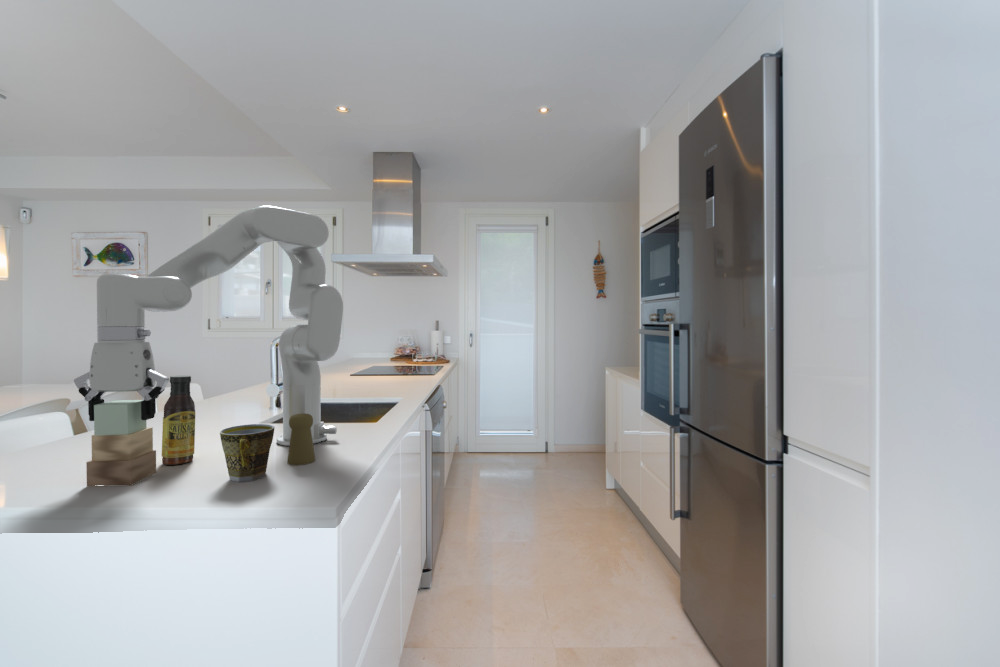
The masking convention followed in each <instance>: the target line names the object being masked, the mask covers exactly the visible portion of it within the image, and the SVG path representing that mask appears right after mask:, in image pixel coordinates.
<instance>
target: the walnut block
mask: <svg viewBox="0 0 1000 667" xmlns="http://www.w3.org/2000/svg"><path fill="white" fill-rule="evenodd" d="M154 473H155V474H156V473H157V450H155V449H153V451H151V452H149V453H146V454H144V455H141V456H139V457H136V458H134V459H131V460H116V461H92V459H91V460H89V461H86V487H87V486H95V485H127V486H132V484H133V485H135V484H137V483H139V482H141V481H142V479H143V480H145V479H146V477H147V478H149V477H150V475H151V476H153V475H154ZM152 474H153V475H152ZM148 476H149V477H148ZM144 478H145V479H144ZM140 480H141V481H140ZM138 481H139V482H138ZM136 482H137V483H136ZM134 483H135V484H134ZM95 487H96V486H95Z"/></svg>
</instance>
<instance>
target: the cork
mask: <svg viewBox="0 0 1000 667" xmlns="http://www.w3.org/2000/svg"><path fill="white" fill-rule="evenodd" d="M312 425H313V417H312V416H311V415H310V414H305V413H301V414H295V415H293V416H291V417H290V419H289V426H290V428H291V429H292V431H291V438H290V446H289V448H288V456H287V462H286V463H287V465H291V466H301V465H302V466H303V465H308V463H309V464H312V463H313V462H314V463H315V461H316V456H315V450H314V444H313V441H312V434H311V426H312Z"/></svg>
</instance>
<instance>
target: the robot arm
mask: <svg viewBox="0 0 1000 667" xmlns="http://www.w3.org/2000/svg"><path fill="white" fill-rule="evenodd" d="M329 232H330V231H329V227H328V226H327V223H326V222H325V221H324V220H323V219H322V218H320V217H319V216H318V215H317V214H313V213H308V212H304V211H303V212H302V211H298V210H294V209H290V208H289V209H288V208H284V207H278V206H273V205H261V206H256V207H253V208H249V209H246V210H243V211H241V212H239V213H237V214H236V215H235V216H233V217H232V218H230V219H229V220H227V221H226V222H225V223H224V224H223V225H221V226H220V227H218V228H217V229H215V230H214V231H212V232H211V233H210V234H208V235H207V236H205V237H204V238H202V239H201V240H200V241H198V242H197V243H195V244H193V245H191V246H190V247H188V248H187V249H186V250H184V251H182V252H181V253H180V254H178V255H177V256H175V257H173V258H171V259H170V260H168V261H167V262H165V263H164V264H162V265H160V266H159V267H157V269H155V270H153V271H152V272H151V273H149V274H148V275H147V276H138V275H133V274H125V273H106V274H105V273H104V274H101V275H100V276H99V275H98V277H97V279H96V325H97V326H96V328H97V330H96V331H97V333H96V335H97V336H96V338H97V340H96V341H97V342H94V344H93V347H92V349H91V350H92V351H91V356H90V363H89V371H88V372H87V373H84V374H82V375H80V376H77V377H76V378H74V379H73V383H74V384H75V386H76V388H77V389H78V393H79V394H80V395H81V396H82V397H83V398H84V400H85V402H88V404H87V405H88V411H87V412H88V420H89V421H90V422H94V405H97V404H101V403H105V399H104V398H102V397H103V396H104V395H105V394H106V393H107V392H108V393H110V392H111V393H112V392H119V393H121V392H123V393H124V392H137V393H138V394H139V395H140V397H142V398H143V399H142V400H143V401H141V419H142V420H146V421H148V420H152V419H154V418H155V414H156V404H157V403H156V400H157V399H158V398H159V396H160V395H162V393H163V392H164V391H165V390H166V389H165V388H166V387H167V385H168V383H169V382H170V377H168V376H166V375H163V374H162V373H159V372H158V371H156V370H155V361H154V360H155V359H154V354H153V350H152V347H151V343H150V342H149V341H146V337H150V336H151V333H152V332H151V330H150V329H146V326H145V324H146V323H145V317H146V316H145V311H148V312H151V313H152V312H153V313H155V312H156V313H157V312H163V313H164V312H176V311H179V310H182V309H184V308H185V307H186V306H188V304H190V302H191V300H192V297H193V296H192V295H193V292H192V288H193V287H195V286H196V285H199V284H200V283H202V282H204V281H206V280H209V279H211V278H214V277H217V276H219V275H220V276H221V274H223V273H225V272H228V271H229V270H231V269H232V268H234V267H235V266H236V265H238V264H239V263H240V262H241V261H243V259H245V258H246V257H247V256H249V255H250V254H251V253H252V252H255V250H257V249H258V248H259V247H260V246H262V245H263V244H264V243H271V242H276V243H277V244H278V245H279V247H280V248H281V249H282V250H283V251H284V252H285V254H287V256H288V257H289V260H290V263H291V267H292V271H291V272H292V273H291V283H290V291H289V299H288V309H289V312H290V313H291V314H290V315H292V316H293V317H294V318H296V319H299V320H303V321H305V320H306V321H307V324H294V325H291V326H289V327H287V328H286V329H285V330H283V332H282V333H281V335H280V336H279V341H278V348H279V349H278V350H279V355H280V361H281V367H282V370H281V371H282V434H281V435H279V436H277V437H276V443H277V444H279V445H280V446H290V438H291V431H292V429H291V428H290V426H289V419H290V417H291V416H293V415H295V414H301V413H305V414H310V415H311V416H312V417H313V425H312V426H311V434H312V441H313V445H314V444H317V443H321V441H322V442H324V441H326V440H327V438H328V436H327V434H328V435H337V431H338V430H337V426H334V425H327V426H326V425H325V423H324V422H325V421H321V420H322V419H321V418H322V416H321V415H322V414H321V413H322V412H321V409H322V408H321V407H322V406H321V405H322V404H321V403H322V402H321V401H322V399H321V383H322V382H321V380H322V377H321V376H322V375H321V368H320V365H319V363H318V362H324V361H328V360H331V359H332V358H333V357H334V356H335V355H336V353H337V351H338V348H339V346H340V340H341V335H342V324H343V323H342V322H343V315H344V314H343V313H344V302H343V297H342V295H341V293H340V292H339V291H338V289H337V288H336V287H335V286H333V285H331V284H326V269H327V268H326V263H325V260H324V258H323V256H322V254H321V253H320V251H319V249H318V248H320V247H322V246H323V245H324V244H325V243H326V242H327V241H328V238H329ZM88 381H89V384H88Z"/></svg>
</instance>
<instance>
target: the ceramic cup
mask: <svg viewBox="0 0 1000 667" xmlns="http://www.w3.org/2000/svg"><path fill="white" fill-rule="evenodd" d="M274 434H275V426H274V425H272V424H266V423H254V424H242V425H235V426H231V427H227V428H224V429H222V430H220V431H219V435H220V441H221V446H222V450H223V453H224V459H225V463H226V468H227V473H228V477H229V480H230V481H231V482H237V483H244V482H245V483H246V482H253V481H256V480H259V479H263V478H264V477H265V475H266V472H267V468H268V461H269V457H270V456H269V455H270V450H271V446H272V443H273V440H274Z"/></svg>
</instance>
